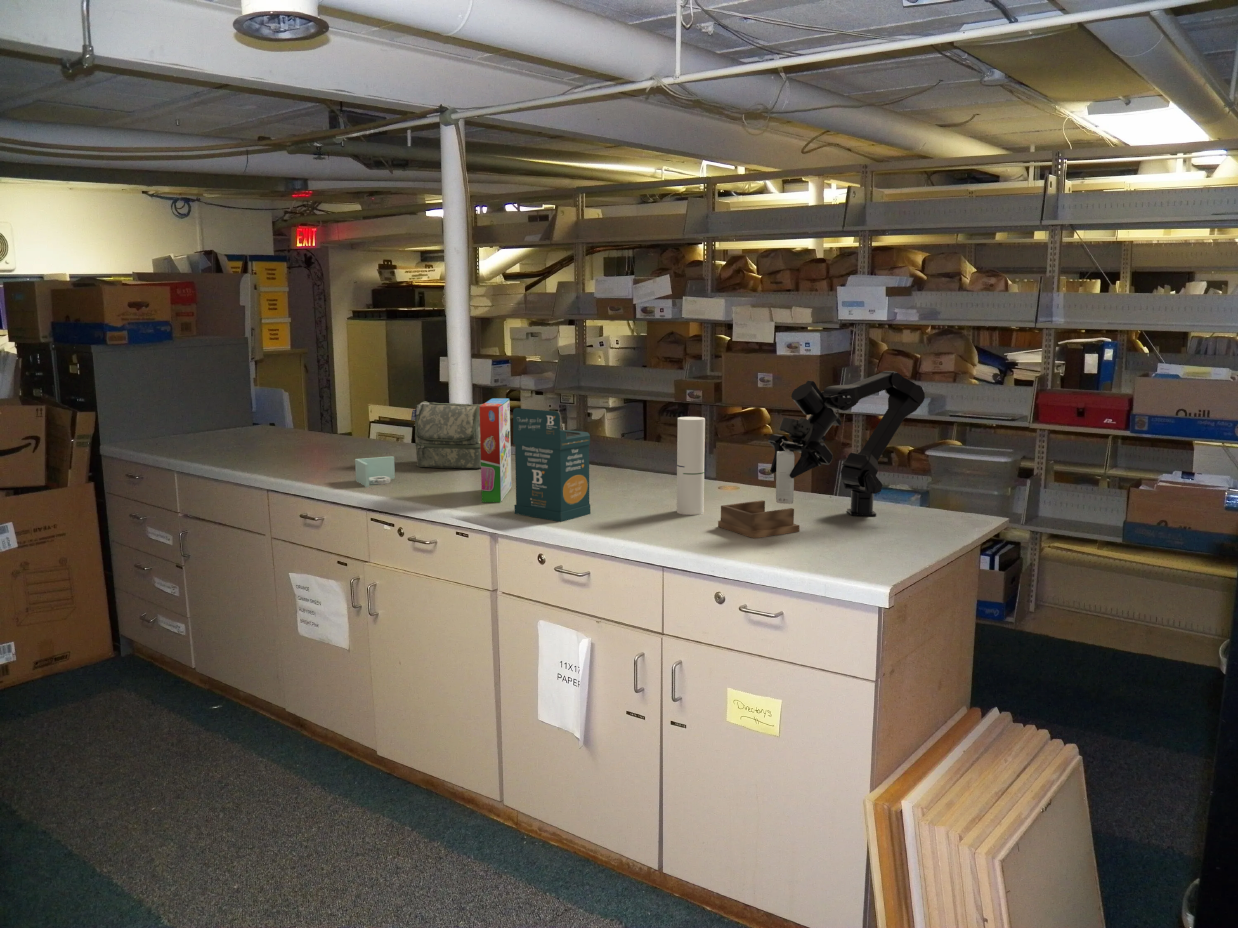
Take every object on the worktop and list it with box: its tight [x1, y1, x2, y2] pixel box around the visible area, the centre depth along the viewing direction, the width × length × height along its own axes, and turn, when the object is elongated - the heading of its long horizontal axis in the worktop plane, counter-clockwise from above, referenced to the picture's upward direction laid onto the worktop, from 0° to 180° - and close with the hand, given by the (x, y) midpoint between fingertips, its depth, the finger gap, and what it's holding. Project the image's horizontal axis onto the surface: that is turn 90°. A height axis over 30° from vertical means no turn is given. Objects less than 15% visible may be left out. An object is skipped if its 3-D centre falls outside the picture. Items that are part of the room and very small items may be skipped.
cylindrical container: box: [676, 416, 706, 516], centre depth 248 cm, size 7×7×25 cm
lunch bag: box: [410, 400, 483, 470], centre depth 323 cm, size 26×18×22 cm
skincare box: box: [775, 451, 795, 505], centre depth 233 cm, size 6×4×12 cm
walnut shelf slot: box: [717, 499, 801, 539], centre depth 230 cm, size 14×14×6 cm
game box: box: [480, 397, 512, 504], centre depth 270 cm, size 21×6×27 cm, turn 178°
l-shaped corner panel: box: [354, 455, 396, 488], centre depth 292 cm, size 12×12×8 cm
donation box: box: [512, 407, 591, 523], centre depth 247 cm, size 16×16×28 cm
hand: (780, 474), depth 232 cm, fingers closed on skincare box, 7 cm apart
